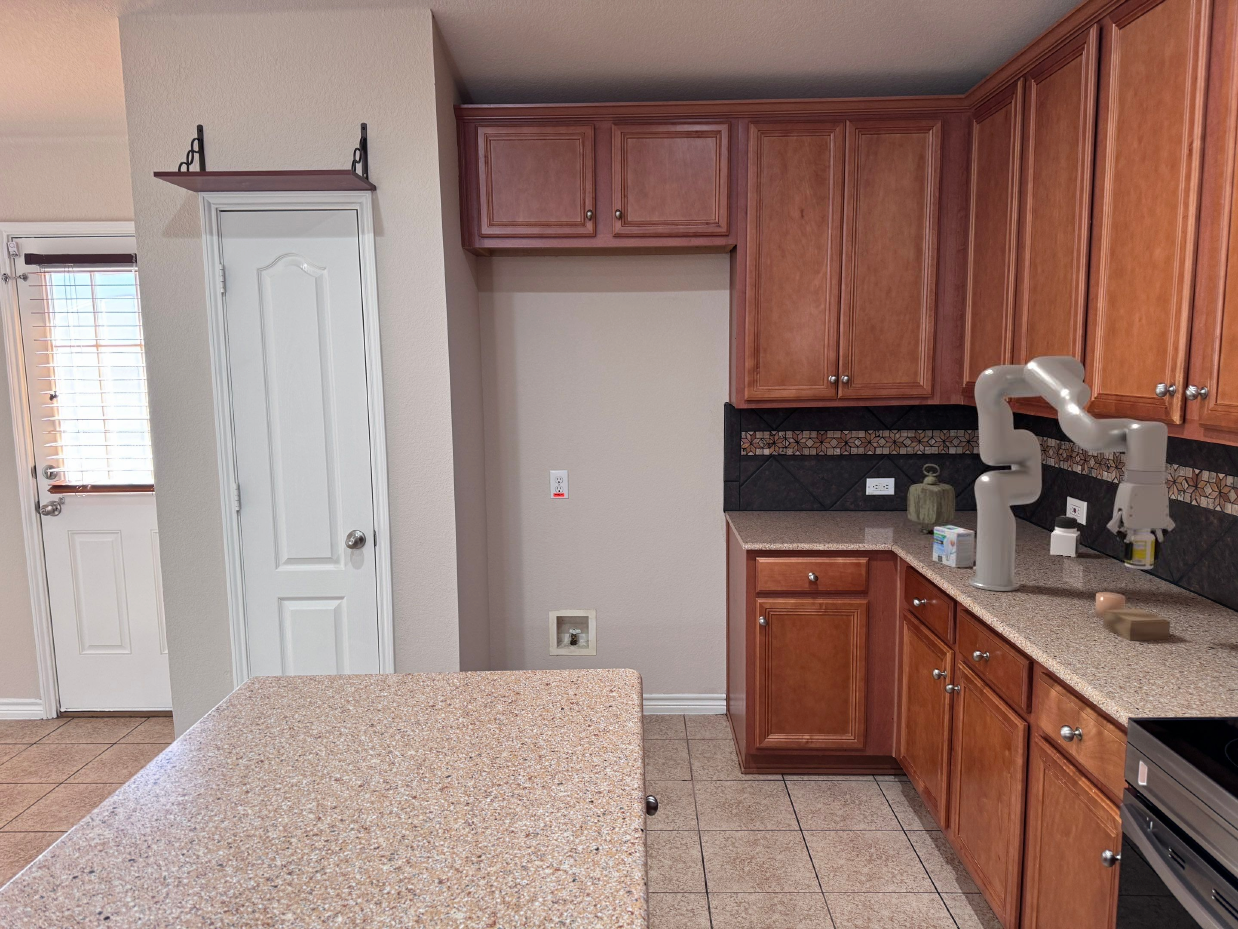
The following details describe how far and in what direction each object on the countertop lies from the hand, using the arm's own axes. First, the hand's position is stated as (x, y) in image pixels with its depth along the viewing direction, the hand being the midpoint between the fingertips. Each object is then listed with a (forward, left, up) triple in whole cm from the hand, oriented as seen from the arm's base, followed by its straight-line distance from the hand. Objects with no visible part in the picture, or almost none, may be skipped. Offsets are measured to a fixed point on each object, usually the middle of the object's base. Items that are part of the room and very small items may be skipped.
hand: (1139, 558), depth 182 cm
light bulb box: (-68, -9, -17) cm, 71 cm away
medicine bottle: (-75, +31, -17) cm, 83 cm away
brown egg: (-13, +3, -17) cm, 22 cm away
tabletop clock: (-113, +4, -17) cm, 114 cm away
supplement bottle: (0, 0, -2) cm, 2 cm away
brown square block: (0, 0, -17) cm, 17 cm away
